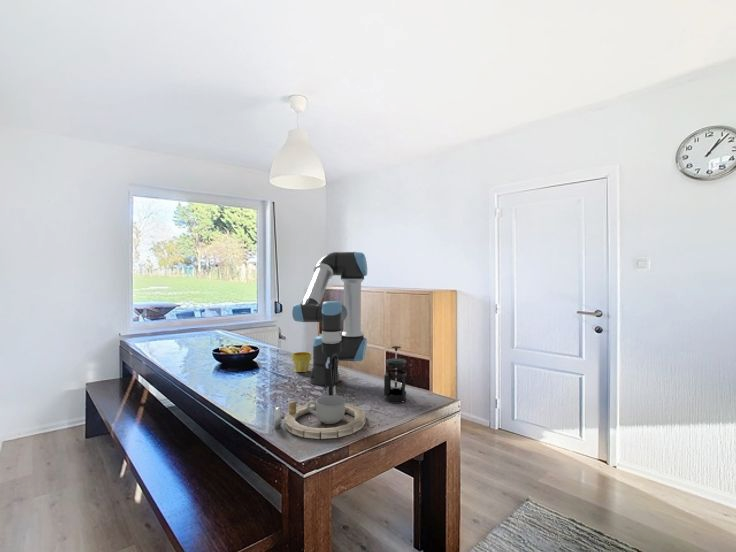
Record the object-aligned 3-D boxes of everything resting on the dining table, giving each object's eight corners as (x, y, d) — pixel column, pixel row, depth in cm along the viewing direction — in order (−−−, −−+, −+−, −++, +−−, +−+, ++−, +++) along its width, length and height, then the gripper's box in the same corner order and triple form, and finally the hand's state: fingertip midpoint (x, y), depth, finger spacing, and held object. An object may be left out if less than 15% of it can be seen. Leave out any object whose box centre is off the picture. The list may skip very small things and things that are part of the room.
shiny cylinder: (276, 425, 133) (276, 406, 133) (284, 426, 133) (284, 407, 133) (273, 428, 131) (273, 408, 131) (281, 429, 130) (281, 409, 130)
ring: (302, 404, 154) (302, 389, 154) (371, 409, 149) (371, 394, 149) (270, 434, 126) (270, 416, 126) (354, 442, 120) (355, 423, 120)
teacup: (347, 416, 143) (347, 395, 143) (342, 427, 132) (342, 405, 132) (311, 414, 145) (311, 393, 144) (303, 425, 134) (303, 403, 134)
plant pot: (305, 367, 214) (305, 350, 214) (314, 371, 206) (314, 353, 206) (288, 370, 207) (288, 353, 207) (298, 374, 199) (298, 356, 199)
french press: (396, 394, 169) (396, 343, 169) (412, 399, 162) (412, 346, 162) (377, 400, 161) (377, 346, 161) (393, 406, 154) (394, 350, 154)
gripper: (336, 345, 137) (336, 409, 137) (345, 339, 150) (345, 397, 150) (316, 344, 138) (316, 408, 139) (327, 338, 151) (327, 396, 151)
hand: (331, 402), depth 144 cm, fingers closed
